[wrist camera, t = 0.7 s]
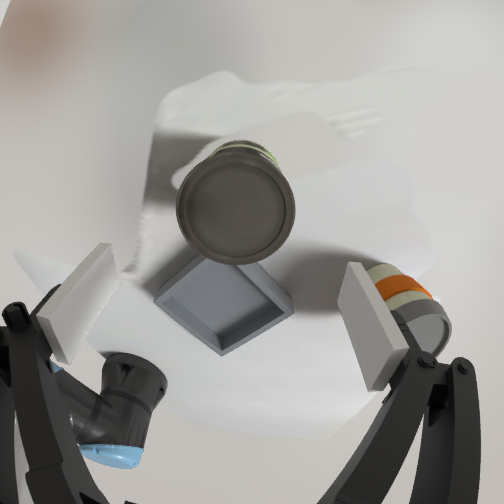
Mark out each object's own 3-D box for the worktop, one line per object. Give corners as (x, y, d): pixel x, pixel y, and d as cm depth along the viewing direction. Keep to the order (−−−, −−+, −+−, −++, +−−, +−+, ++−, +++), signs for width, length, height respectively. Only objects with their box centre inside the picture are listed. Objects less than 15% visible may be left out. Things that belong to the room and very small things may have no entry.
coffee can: (261, 126, 33) (267, 132, 21) (292, 197, 38) (311, 241, 25) (189, 159, 35) (154, 185, 23) (222, 225, 40) (209, 280, 27)
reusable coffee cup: (329, 290, 45) (354, 359, 31) (387, 238, 40) (436, 294, 27) (369, 326, 48) (396, 388, 35) (421, 282, 44) (462, 338, 31)
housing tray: (223, 340, 50) (221, 356, 46) (160, 287, 44) (153, 302, 41) (291, 297, 45) (294, 313, 42) (227, 231, 40) (224, 243, 36)
